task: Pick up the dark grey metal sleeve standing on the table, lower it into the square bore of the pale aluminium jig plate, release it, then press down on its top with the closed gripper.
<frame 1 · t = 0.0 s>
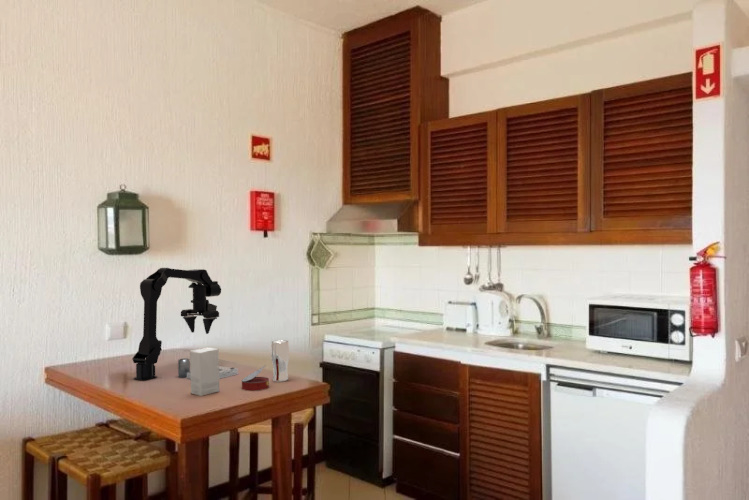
hand: (200, 333, 262), 15 cm above the table, tool pointing down, fingers open, 9 cm apart
white tall container: (280, 380, 232), on the table
jig: (212, 376, 241), on the table
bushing: (184, 376, 241), on the table
skincare box: (205, 393, 213), on the table
canned food: (255, 388, 220), on the table
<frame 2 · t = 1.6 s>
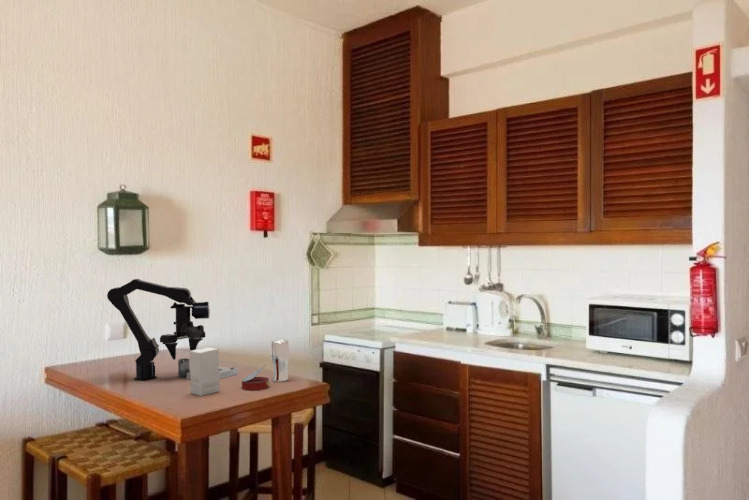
hand: (183, 357, 241), 8 cm above the table, tool pointing down, fingers open, 9 cm apart
nothing on the table moved.
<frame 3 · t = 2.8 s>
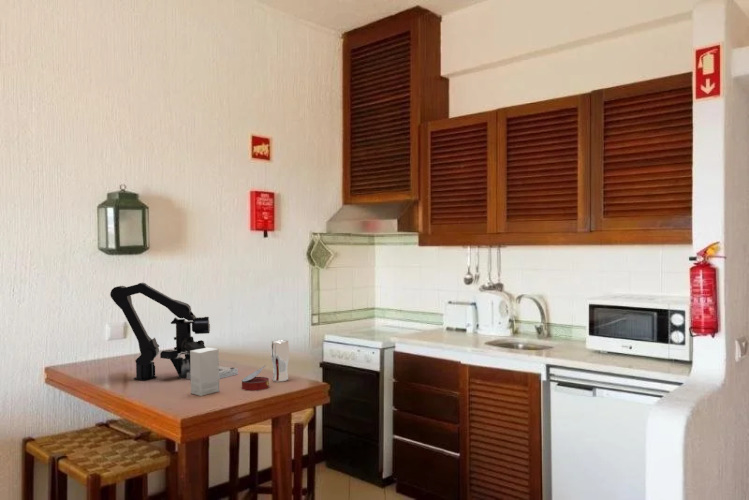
hand: (184, 372, 241), 2 cm above the table, tool pointing down, fingers closed on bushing, 4 cm apart
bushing: (184, 376, 241), on the table, touching gripper
everything else where it was.
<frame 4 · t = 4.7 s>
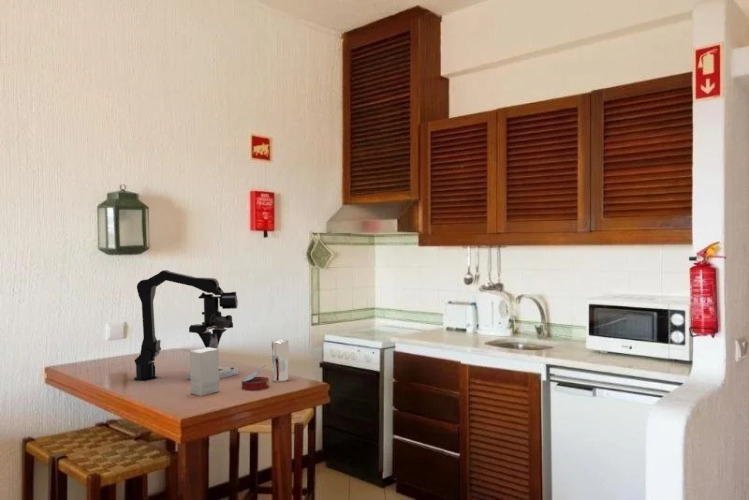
hand: (212, 347, 241), 12 cm above the table, tool pointing down, fingers closed on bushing, 4 cm apart
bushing: (212, 351, 241), point 10 cm above the table, touching gripper
everything else where it was.
when the fingers open (3 cm above the table, at t = 6.5 s): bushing drops 2 cm, resting in jig.
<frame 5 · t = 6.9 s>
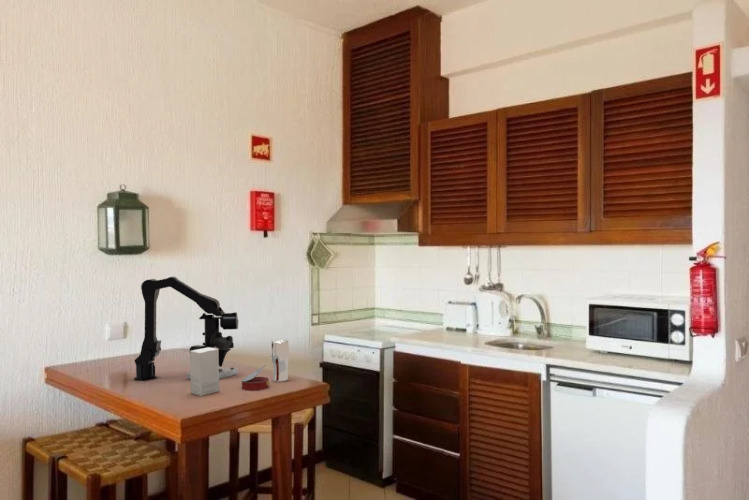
hand: (212, 368, 241), 3 cm above the table, tool pointing down, fingers open, 8 cm apart
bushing: (212, 376, 241), resting in jig
everything else where it was.
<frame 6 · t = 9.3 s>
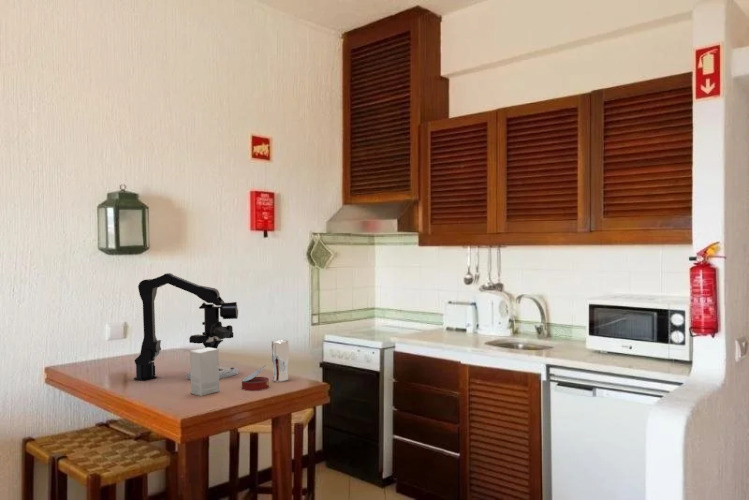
hand: (212, 357, 241), 7 cm above the table, tool pointing down, fingers closed
nothing on the table moved.
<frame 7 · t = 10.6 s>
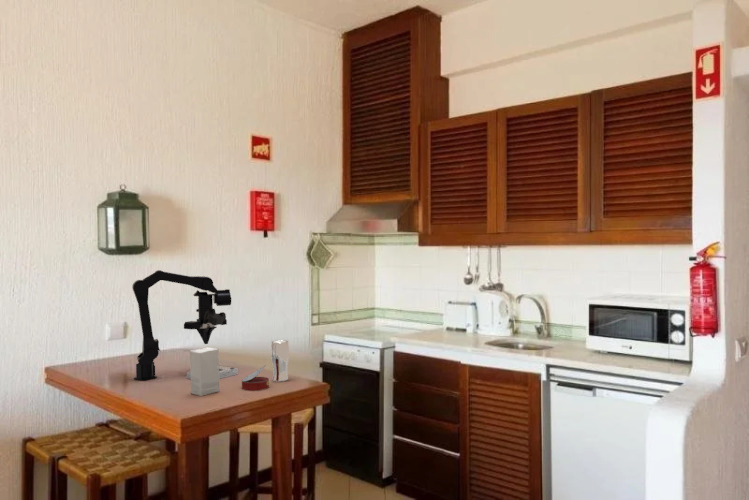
hand: (206, 343, 248), 12 cm above the table, tool pointing down, fingers closed
nothing on the table moved.
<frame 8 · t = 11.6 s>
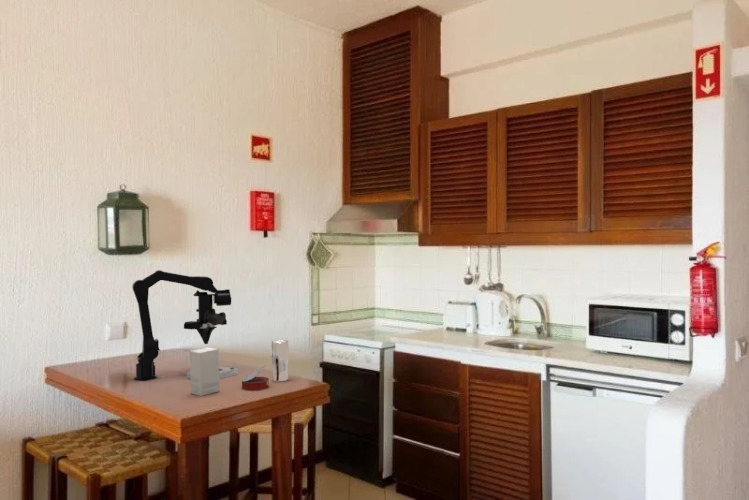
hand: (206, 343, 248), 12 cm above the table, tool pointing down, fingers closed
nothing on the table moved.
at the end: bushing 0.1 cm off-centre on the jig, point 0.0 cm above the jig's base; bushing tilted 0°; the gripper is holding nothing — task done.
